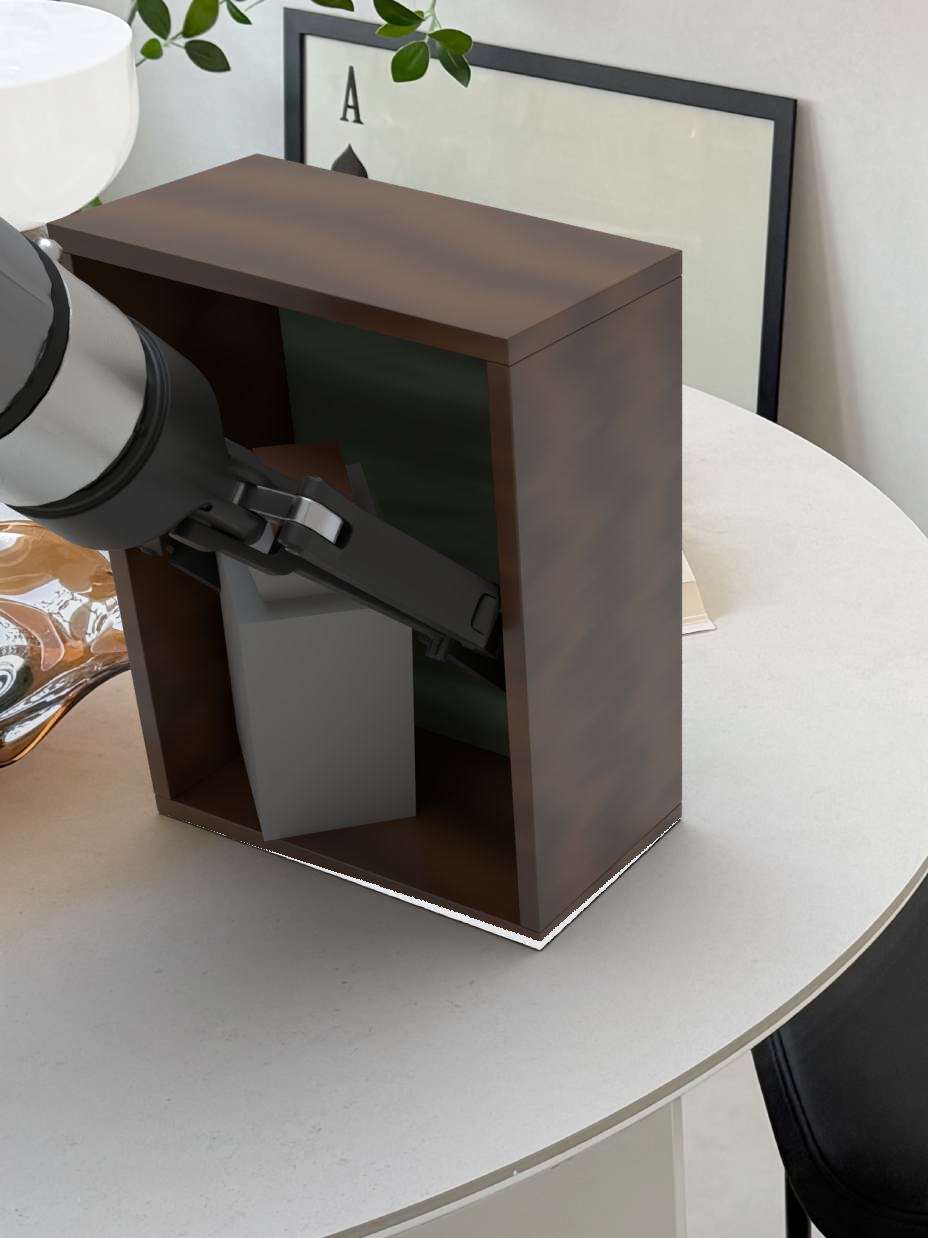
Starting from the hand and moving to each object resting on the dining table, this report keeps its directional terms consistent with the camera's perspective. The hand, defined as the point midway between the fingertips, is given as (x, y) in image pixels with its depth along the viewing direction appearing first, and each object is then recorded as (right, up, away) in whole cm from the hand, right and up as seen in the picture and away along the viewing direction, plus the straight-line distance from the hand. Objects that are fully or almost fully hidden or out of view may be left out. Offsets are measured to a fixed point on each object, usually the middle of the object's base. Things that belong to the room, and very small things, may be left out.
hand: (391, 625), depth 85 cm
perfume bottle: (-5, -6, +6) cm, 10 cm away
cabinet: (0, -8, +7) cm, 10 cm away
